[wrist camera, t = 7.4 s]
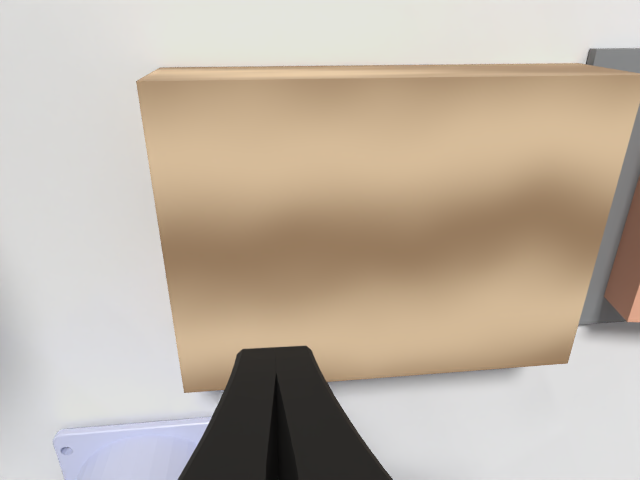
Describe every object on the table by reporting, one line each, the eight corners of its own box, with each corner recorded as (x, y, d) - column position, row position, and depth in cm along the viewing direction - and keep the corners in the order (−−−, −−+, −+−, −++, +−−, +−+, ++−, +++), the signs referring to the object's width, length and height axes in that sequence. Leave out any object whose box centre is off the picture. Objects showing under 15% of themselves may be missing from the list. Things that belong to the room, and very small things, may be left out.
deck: (524, 314, 23) (567, 363, 19) (195, 335, 21) (184, 392, 18) (578, 63, 18) (647, 74, 15) (160, 67, 16) (136, 81, 13)
